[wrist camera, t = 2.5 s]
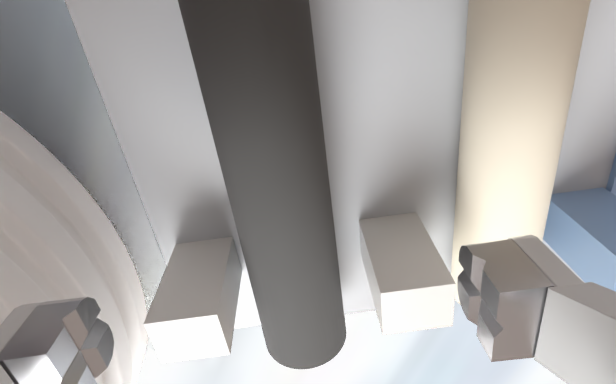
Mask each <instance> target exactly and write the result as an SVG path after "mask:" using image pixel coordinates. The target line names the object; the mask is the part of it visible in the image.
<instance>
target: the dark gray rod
mask: <svg viewBox="0 0 616 384" xmlns="http://www.w3.org/2000/svg"><path fill="white" fill-rule="evenodd" d="M178 3H179V7H180V11H181V15H182V19H183V23H184V27H185V31H186V34H187V38H188V42H189V46H190V50H191V54H192V58H193V62H194V66H195V69H196V73H197V77H198V81H199V85H200V89H201V93H202V97H203V101H204V104H205V108H206V112H207V116H208V120H209V124H210V128H211V132H212V135H213V139H214V143H215V147H216V151H217V155H218V159H219V163H220V167H221V170H222V174H223V178H224V182H225V186H226V190H227V194H228V198H229V201H230V205H231V209H232V213H233V217H234V221H235V225H236V229H237V233H238V236H239V240H240V244H241V248H242V252H243V256H244V260H245V264H246V268H247V271H248V275H249V279H250V283H251V287H252V291H253V295H254V299H255V302H256V306H257V310H258V314H259V318H260V322H261V326H262V330H263V334H264V337H265V341H266V345H267V349H268V351H269V353H270V355H271V356H272V357H273V358H274V359H275V360H276V361H277V362H279V363H280V364H282V365H284V366H286V367H290V368H294V369H309V368H314V367H317V366H320V365H323V364H325V363H326V362H328V361H330V360H331V359H332V358H334V357H335V356H336V355H337V354H338V352H339V351H340V350H341V348H342V347H343V345H344V342H345V338H346V327H345V318H344V309H343V300H342V291H341V282H340V273H339V264H338V255H337V246H336V237H335V229H334V220H333V211H332V202H331V193H330V184H329V175H328V166H327V157H326V148H325V139H324V130H323V121H322V112H321V103H320V94H319V85H318V77H317V68H316V59H315V50H314V41H313V32H312V23H311V14H310V5H309V0H178Z"/></svg>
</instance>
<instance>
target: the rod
mask: <svg viewBox="0 0 616 384" xmlns="http://www.w3.org/2000/svg"><path fill="white" fill-rule="evenodd" d="M590 1H591V0H469V2H468V18H467V33H466V49H465V64H464V79H463V95H462V110H461V125H460V141H459V156H458V172H457V187H456V202H455V218H454V233H453V248H452V264H451V276H452V278H453V279H454V281H455V283H456V288H455V300H456V301H457V302H458V303H459V304H460V301H459V295H458V290H457V282H458V276H459V275H460V273H461V272H462V271H463V270H464V269H463V267H462V266H461V264H460V262H459V251H460V248H461V246H463V245H470V244H477V243H484V242H491V241H498V240H505V239H508V238H513V237H519V236H525V235H534V236H536V237H538V238H539V239H540V240H541V241H543V236H544V231H545V226H546V221H547V216H548V211H549V206H550V201H551V196H552V191H553V186H554V181H555V176H556V171H557V166H558V161H559V156H560V151H561V146H562V141H563V136H564V131H565V126H566V121H567V116H568V111H569V106H570V101H571V96H572V91H573V86H574V81H575V76H576V71H577V66H578V61H579V56H580V51H581V46H582V41H583V36H584V31H585V26H586V21H587V16H588V11H589V6H590ZM460 305H461V304H460Z"/></svg>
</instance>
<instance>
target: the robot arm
mask: <svg viewBox="0 0 616 384" xmlns="http://www.w3.org/2000/svg"><path fill="white" fill-rule="evenodd" d="M459 262H460V264H461V266H462V267H463V269H464V270H463V271H462V272H461V273H460V275H459V276H458V282H457V290H458V295H459V301H460V304H461V306H462V309H463V311H464V313H465V315H466V317H467V319H468V320H470V321H471V322H473V323H475V324H476V325H478V326H477V337H478V339H479V341H480V343H481V344H482V346H483V348H484V350H485V352H486V353H487V355H488V357H489V359H490V360H491V362H495V361H504V360H514V359H523V358H533V357H534V360H535V361H537V362H538V363H540V364H541V365H542V366H544V367H545V368H546V369H548V370H549V371H551V372H552V373H553V374H555V375H556V376H557V377H559V378H560V379H562V380H563V381H564V382H566V383H567V384H616V291H613V290H611V289H608V288H606V287H603V286H601V285H598V284H596V283H593V282H587V283H584V282H583V281H582V280H581V279H579V278H578V277H577V276H576V275H575V274H574V273H573V272H572V271H571V270H570V269H569V268H568V267H567V266H566V265H565V264H564V263H563V262H562V261H561V260H560V259H559V258H558V257H557V256H556V255H555V254H554V253H553V252H552V251H551V250H550V249H549V248H548V247H547V246H546V245H545V244H544V243H543V242H542V241H541V240H540V239H539V238H538V237H536V236H534V235H525V236H519V237H513V238H508V239H505V240H498V241H491V242H484V243H477V244H470V245H463V246H461V248H460V251H459ZM100 311H101V309H100V307H99V306H98V304H97V302H96V300H95V299H94V298H90V297H81V298H73V299H64V300H55V301H46V302H40V303H32V304H24V305H21V306H19V307H16V308H14V309H13V311H12V312H11V313H10V314H9V315H8V316H7V318H6V319H5V320H4V321H3V322H2V323H1V325H0V384H98V382H97V379H96V378H97V377H98V376H99V375H100V374H101V373H102V372H103V371H105V370H106V369H107V368H108V366H109V363H110V361H111V359H112V356H113V348H114V339H113V334H112V331H111V329H110V327H109V325H108V324H107V323H105V322H103V321H102V320H100V319H99V318H98V316H99V314H100Z"/></svg>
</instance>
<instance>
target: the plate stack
mask: <svg viewBox="0 0 616 384" xmlns="http://www.w3.org/2000/svg"><path fill="white" fill-rule="evenodd" d="M81 297H90V298H94V299H95V300H96V302H97V304H98V306H99V307H100V309H101V311H100V314H99V316H98V318H99V319H100V320H102V321H103V322H105V323H107V324H108V325H109V327H110V329H111V331H112V334H113V339H114V348H113V356H112V359H111V361H110V363H109V366H108V368H107V369H106V370H105V371H103V372H102V373H101V374H100V375H99V376H98V377H97V378H96V379H97V382H98V384H136V381H137V379H138V376H139V373H140V370H141V368H142V365H143V361H144V358H145V353H146V348H147V341H148V333H147V331H146V329H145V327H144V325H143V324H144V321H145V319H146V316H147V308H146V302H145V298H144V293H143V290H142V286H141V283H140V280H139V277H138V274H137V271H136V269H135V267H134V264H133V262H132V260H131V258H130V255H129V253H128V251H127V249H126V247H125V246H124V244H123V242H122V240H121V238H120V237H119V235H118V233H117V232H116V230H115V228H114V227H113V225H112V224H111V222H110V221H109V219H108V218H107V216H106V215H105V214H104V212H103V211H102V209H101V208H100V207H99V205H98V204H97V203H96V201H95V200H94V199H93V198H92V197H91V195H90V194H89V193H88V192H87V190H86V189H85V188H84V187H83V186H82V185H81V184H80V182H79V181H78V180H77V179H76V178H75V177H74V176H73V175H72V174H71V173H70V171H69V170H68V169H67V168H66V167H65V166H64V165H63V164H62V163H61V162H60V161H59V160H58V159H57V158H56V157H55V156H54V155H53V154H52V153H50V152H49V151H48V150H47V149H46V148H45V147H44V146H43V145H42V144H41V143H40V142H38V141H37V140H36V139H35V138H34V137H33V136H32V135H30V134H29V133H28V132H27V131H26V130H24V129H23V128H22V127H21V126H20V125H18V124H17V123H16V122H15V121H13V120H12V119H11V118H9V117H8V116H7V115H6V114H4V113H3V112H2V111H0V325H1V323H2V322H3V321H4V320H5V319H6V318H7V316H8V315H9V314H10V313H11V312H12V311H13V309H14V308H16V307H19V306H21V305H24V304H32V303H40V302H46V301H55V300H64V299H73V298H81Z"/></svg>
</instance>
